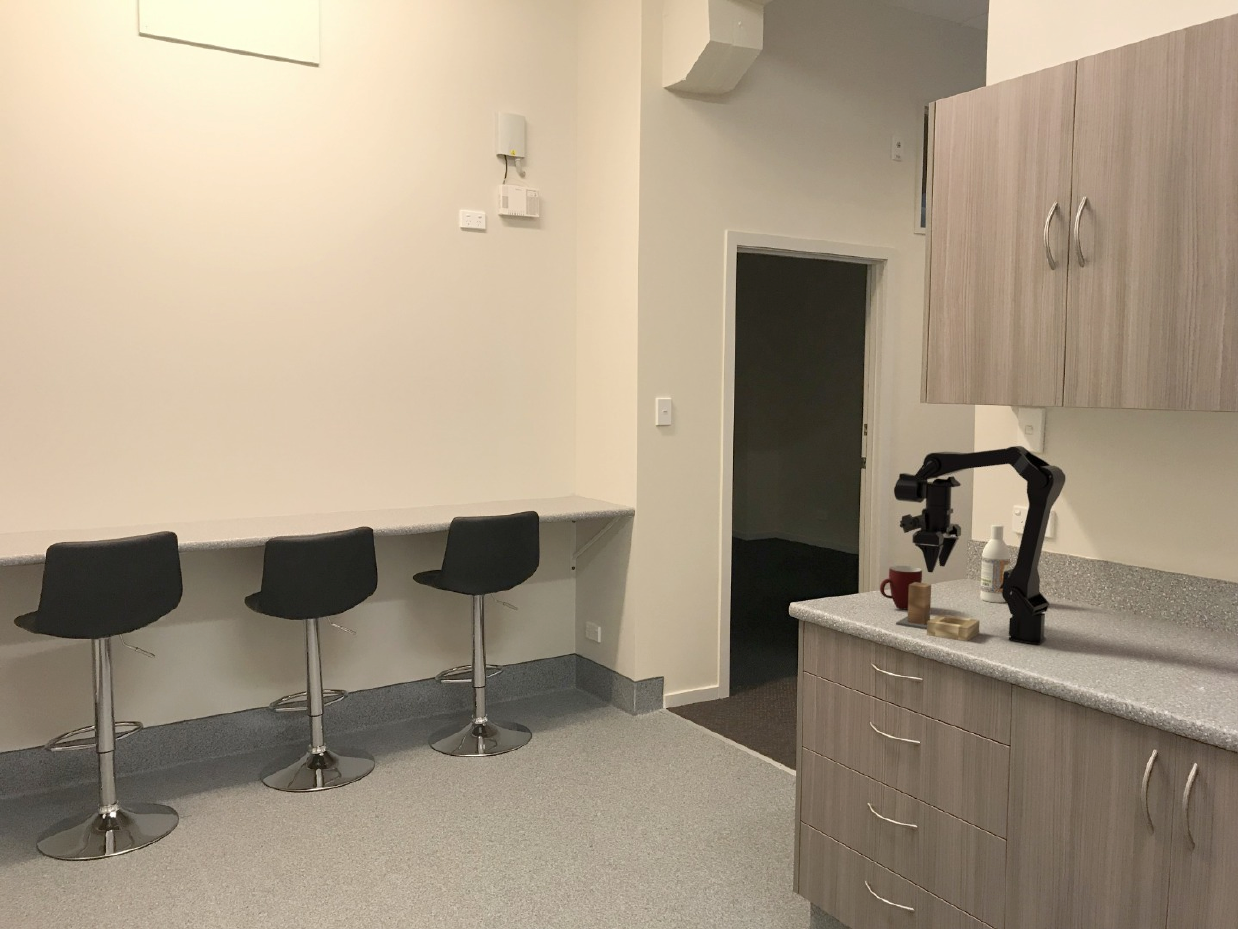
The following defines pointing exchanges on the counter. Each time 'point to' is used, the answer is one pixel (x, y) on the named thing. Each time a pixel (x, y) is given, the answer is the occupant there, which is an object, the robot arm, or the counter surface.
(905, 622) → the mat
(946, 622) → the holder
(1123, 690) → the counter surface
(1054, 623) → the counter surface
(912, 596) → the peg
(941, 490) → the robot arm
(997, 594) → the bath foam
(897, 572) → the mug
